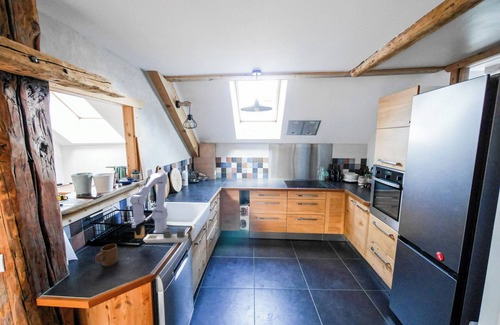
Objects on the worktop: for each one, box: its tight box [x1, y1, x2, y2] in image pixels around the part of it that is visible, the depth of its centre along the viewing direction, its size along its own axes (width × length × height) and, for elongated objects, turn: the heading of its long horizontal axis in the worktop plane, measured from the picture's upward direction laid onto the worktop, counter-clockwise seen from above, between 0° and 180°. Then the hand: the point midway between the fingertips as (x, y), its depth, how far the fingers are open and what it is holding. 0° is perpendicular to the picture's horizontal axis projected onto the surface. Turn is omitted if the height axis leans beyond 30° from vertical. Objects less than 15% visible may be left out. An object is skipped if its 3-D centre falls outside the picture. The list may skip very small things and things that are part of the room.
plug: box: [134, 225, 146, 239], centre depth 131 cm, size 4×4×7 cm
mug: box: [94, 243, 119, 267], centre depth 113 cm, size 12×8×9 cm, turn 167°
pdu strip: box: [142, 228, 189, 244], centre depth 140 cm, size 7×28×7 cm, turn 94°
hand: (139, 233), depth 131 cm, fingers closed on plug, 3 cm apart
